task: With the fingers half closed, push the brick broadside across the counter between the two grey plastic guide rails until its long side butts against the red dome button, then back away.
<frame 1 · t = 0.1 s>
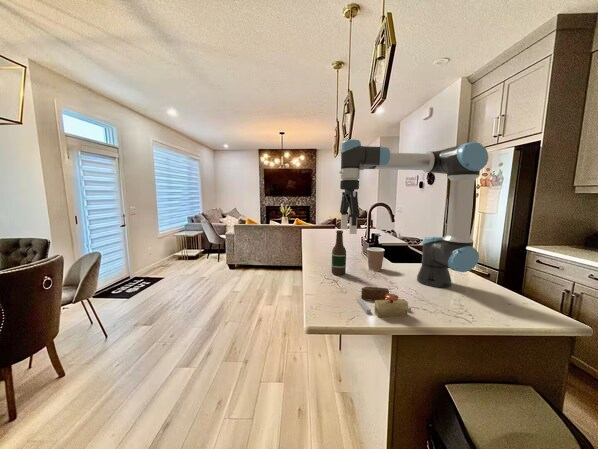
hand: (348, 231, 104), 28 cm above the table, tool pointing down, fingers open, 13 cm apart
guide rails: (382, 306, 96), on the table
red dome button: (390, 314, 90), on the table
brick: (374, 299, 104), on the table
coffee cup: (374, 269, 148), on the table
beer bottle: (338, 273, 138), on the table
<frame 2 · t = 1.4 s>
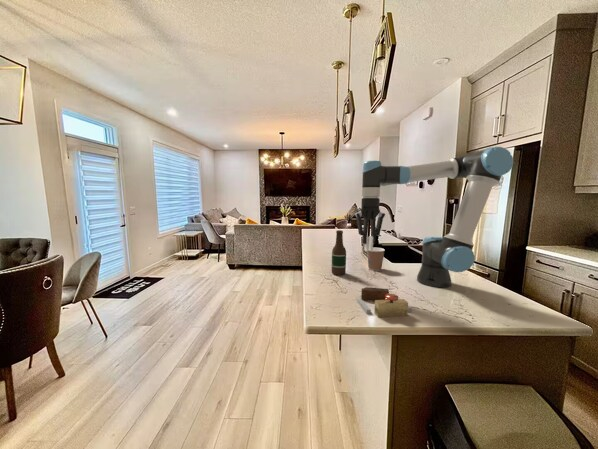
hand: (368, 250, 111), 18 cm above the table, tool pointing down, fingers closed
nothing on the table moved.
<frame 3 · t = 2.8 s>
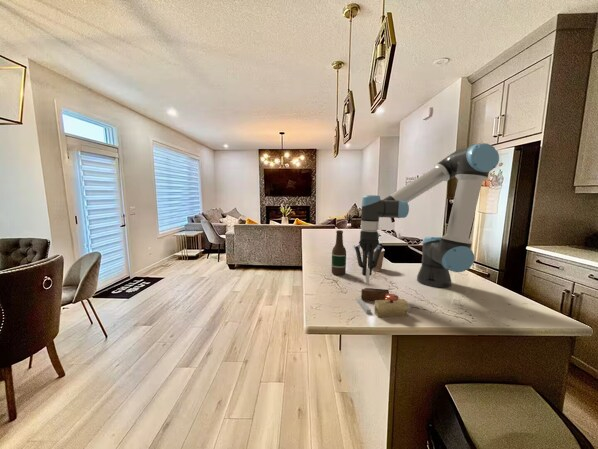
hand: (366, 282, 112), 4 cm above the table, tool pointing down, fingers closed
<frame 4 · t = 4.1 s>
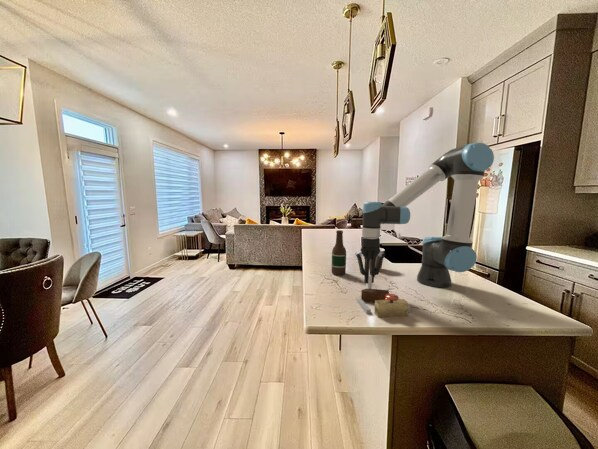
hand: (368, 290, 110), 1 cm above the table, tool pointing down, fingers closed
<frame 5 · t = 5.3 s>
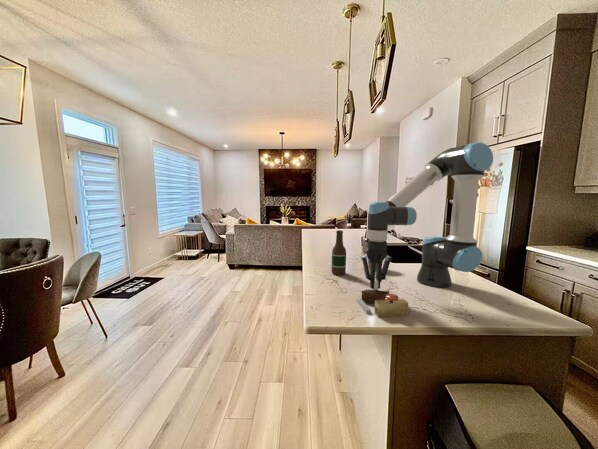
hand: (374, 295, 104), 1 cm above the table, tool pointing down, fingers closed
brick: (375, 303, 100), on the table, touching gripper
everything else where it was.
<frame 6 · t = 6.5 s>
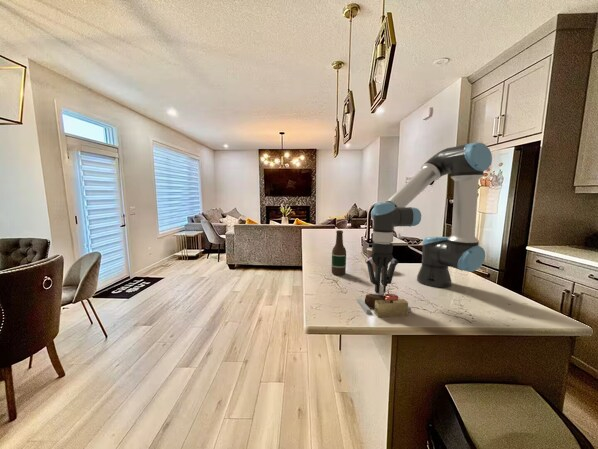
hand: (379, 300, 99), 1 cm above the table, tool pointing down, fingers closed
brick: (379, 308, 96), on the table, touching gripper
everything else where it was.
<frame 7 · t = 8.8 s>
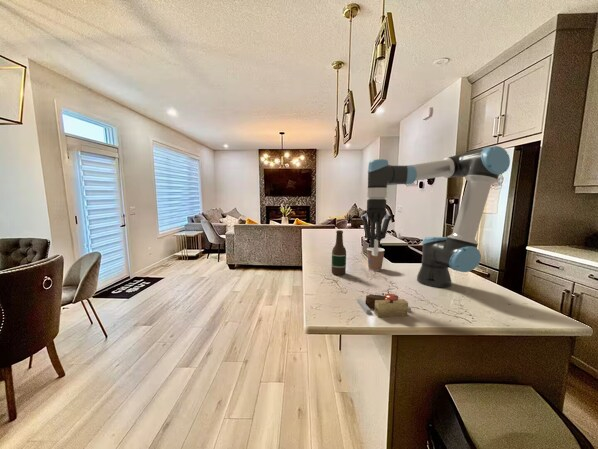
hand: (374, 255, 104), 18 cm above the table, tool pointing down, fingers closed
brick: (379, 308, 95), on the table
everything else where it was.
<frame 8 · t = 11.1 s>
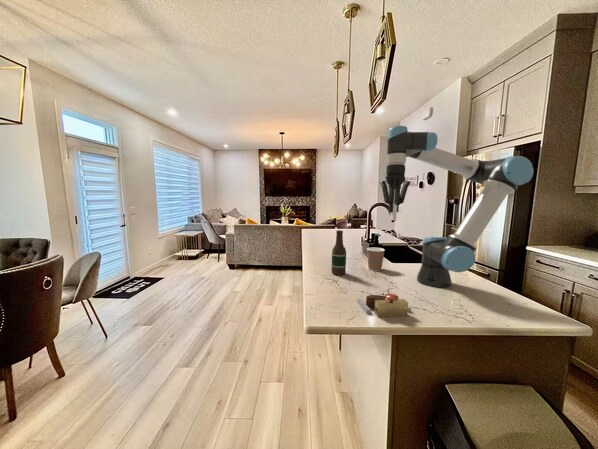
hand: (393, 219, 109), 32 cm above the table, tool pointing down, fingers closed
brick: (380, 309, 95), on the table, touching red dome button
everything else where it was.
at the end: brick inside the target area (1.7 cm from its centre), on the table; brick tilted 2°; brick moved 9.2 cm from its start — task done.
